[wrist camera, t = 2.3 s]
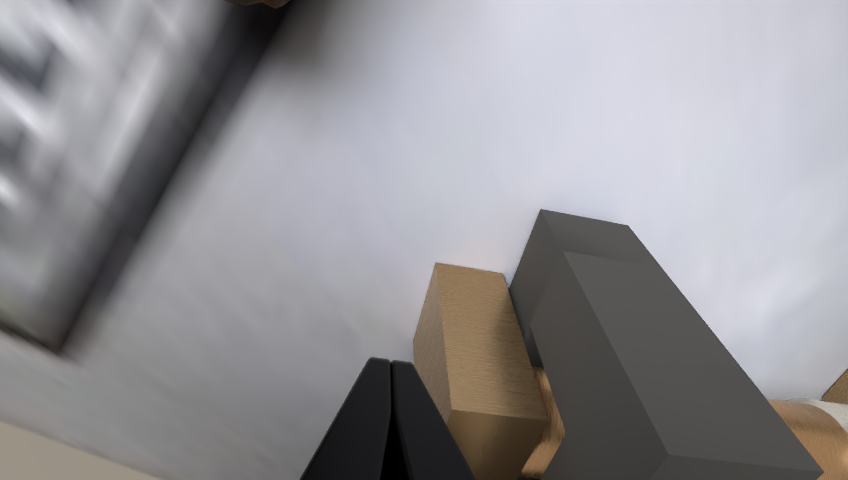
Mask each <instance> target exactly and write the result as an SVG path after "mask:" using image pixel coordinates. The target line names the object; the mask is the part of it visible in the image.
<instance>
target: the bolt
mask: <svg viewBox="0 0 848 480" xmlns="http://www.w3.org/2000/svg"><path fill="white" fill-rule="evenodd" d="M225 1H228V2H232V3H236V4H240V5H244V6H248V5H252V4H256V3H260V2H262V3H264V4H266V5H268V6H270V7H272V8H275V9H276V8H278V7H281V6H283V5H284V4H286V3H287V2H288V1H290V0H225Z"/></svg>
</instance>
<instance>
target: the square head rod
mask: <svg viewBox="0 0 848 480" xmlns="http://www.w3.org/2000/svg"><path fill="white" fill-rule="evenodd" d="M413 344H414V367H415V368H416V370H417V372H418V374H419V376H420V378H421V379H422V381H423V383H424V385H425V387H426V389H427V390H428V392H429V394H430V396H431V398H432V400H433V401H434V403H435V405H436V407H437V409H438V411H439V412H440V414H441V416H442V418H443V420H444V422H445V423H446V425H447V427H448V429H449V431H450V433H451V434H452V436H453V438H454V440H455V442H456V444H457V445H458V447H459V449H460V451H461V453H462V454H463V456H464V458H465V460H466V462H467V464H468V465H469V467H470V469H471V471H472V473H473V475H474V476H475V478H476V480H517V479H518V477H524V478H534V479H541V477H542V475H543V474H544V472H545V470H546V468H547V467H548V465H549V463H550V461H551V460H552V458H553V456H554V454H555V453H556V451H557V449H558V447H559V446H560V444H561V442H562V440H563V439H564V437H565V435H566V432H565V429H564V426H563V423H562V420H561V417H560V414H559V411H558V408H557V405H556V402H555V399H554V396H553V393H552V390H551V387H550V384H549V381H548V378H547V375H546V372H545V369H544V368H541V367H534V366H531V363H530V360H529V357H528V353H527V350H526V347H525V344H524V340H523V337H522V334H521V331H520V327H519V324H518V321H517V318H516V314H515V311H514V308H513V305H512V301H511V298H510V295H509V292H508V288H507V285H506V282H505V279H504V275H503V274H502V273H496V272H490V271H484V270H478V269H472V268H466V267H460V266H453V265H447V264H441V263H435V267H434V270H433V274H432V277H431V281H430V284H429V288H428V291H427V295H426V298H425V302H424V305H423V309H422V312H421V316H420V319H419V323H418V326H417V330H416V333H415V337H414V340H413ZM822 398H823V399H824V400H825V401H826V402H825V401H817V400H810V399H792V400H789V401H782V400H775V399H768V398H766V399H767V401H768V402H769V403H770V404H771V406H772V407H773V408H774V409H775V411H776V412H777V413H778V414H779V416H780V417H781V418H782V419H783V421H784V422H785V423H786V424H787V426H788V427H789V428H790V429H791V431H792V432H793V433H794V434H795V436H796V437H797V438H798V439H799V441H800V442H801V443H802V444H803V446H804V447H805V448H806V449H807V451H808V452H809V453H810V455H811V456H812V457H813V458H814V460H815V461H816V462H817V463H818V465H819V466H820V467H821V468H822V470H823V471H824V473H823V474H822V475H821V476H820V477H819V478H818V479H817V480H848V370H847V371H846V372H845V373H844V374H843V375H842V376H841V378H840V379H839V380H838V381H837V382H836V383H835V384H834V385H833V386H832V387H831V388H830V389H829V390H828V392H827V393H826V394H825V395H824V396H823V397H822Z"/></svg>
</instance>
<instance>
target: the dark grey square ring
mask: <svg viewBox="0 0 848 480" xmlns="http://www.w3.org/2000/svg"><path fill="white" fill-rule="evenodd" d="M508 292H509V295H510V298H511V301H512V305H513V308H514V311H515V314H516V318H517V321H518V324H519V327H520V331H521V334H522V337H523V340H524V344H525V347H526V350H527V353H528V357H529V360H530V363H531V366H534V367H541V368H544V369H545V372H546V375H547V378H548V381H549V384H550V387H551V390H552V393H553V396H554V399H555V402H556V405H557V408H558V411H559V414H560V417H561V420H562V423H563V426H564V429H565V432H566V435H565V437H564V439H563V440H562V442H561V444H560V446H559V447H558V449H557V451H556V453H555V454H554V456H553V458H552V460H551V461H550V463H549V465H548V467H547V468H546V470H545V472H544V474H543V475H542V477H541V479H534V478H524V477H518V479H517V480H817V479H818V478H819V477H820V476H821V475H822V474H823V473H824V471H823V470H822V468H821V467H820V466H819V465H818V463H817V462H816V461H815V460H814V458H813V457H812V456H811V455H810V453H809V452H808V451H807V449H806V448H805V447H804V446H803V444H802V443H801V442H800V441H799V439H798V438H797V437H796V436H795V434H794V433H793V432H792V431H791V429H790V428H789V427H788V426H787V424H786V423H785V422H784V421H783V419H782V418H781V417H780V416H779V414H778V413H777V412H776V411H775V409H774V408H773V407H772V406H771V404H770V403H769V402H768V401H767V399H766V398H765V397H764V396H763V394H762V393H761V392H760V391H759V389H758V388H757V387H756V385H755V384H754V383H753V382H752V380H751V379H750V378H749V377H748V375H747V374H746V373H745V372H744V370H743V369H742V368H741V367H740V365H739V364H738V363H737V362H736V360H735V359H734V358H733V357H732V355H731V354H730V353H729V352H728V350H727V349H726V348H725V347H724V345H723V344H722V343H721V342H720V340H719V339H718V338H717V337H716V335H715V334H714V333H713V332H712V330H711V329H710V328H709V327H708V325H707V324H706V323H705V321H704V320H703V319H702V318H701V316H700V315H699V314H698V313H697V311H696V310H695V309H694V308H693V306H692V305H691V304H690V303H689V301H688V300H687V299H686V298H685V296H684V295H683V294H682V293H681V291H680V290H679V289H678V288H677V286H676V285H675V284H674V283H673V281H672V280H671V279H670V278H669V276H668V275H667V274H666V273H665V271H664V270H663V269H662V268H661V266H660V265H659V264H658V263H657V261H656V260H655V259H654V257H653V256H652V255H651V254H650V252H649V251H648V250H647V249H646V247H645V246H644V245H643V244H642V242H641V241H640V240H639V239H638V237H637V236H636V235H635V234H634V232H633V231H632V230H631V229H630V227H629V226H628V225H623V224H617V223H612V222H607V221H601V220H596V219H591V218H585V217H580V216H575V215H570V214H564V213H559V212H554V211H548V210H543V209H541V210H540V212H539V215H538V217H537V220H536V222H535V225H534V227H533V230H532V233H531V235H530V238H529V240H528V243H527V245H526V248H525V250H524V253H523V256H522V258H521V261H520V263H519V266H518V268H517V271H516V273H515V276H514V279H513V281H512V284H511V286H510V289H509V291H508Z"/></svg>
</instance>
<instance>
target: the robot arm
mask: <svg viewBox="0 0 848 480" xmlns="http://www.w3.org/2000/svg"><path fill="white" fill-rule="evenodd" d="M300 480H476V478H475V476H474V475H473V473H472V471H471V469H470V467H469V465H468V464H467V462H466V460H465V458H464V456H463V454H462V453H461V451H460V449H459V447H458V445H457V444H456V442H455V440H454V438H453V436H452V434H451V433H450V431H449V429H448V427H447V425H446V423H445V422H444V420H443V418H442V416H441V414H440V412H439V411H438V409H437V407H436V405H435V403H434V401H433V400H432V398H431V396H430V394H429V392H428V390H427V389H426V387H425V385H424V383H423V381H422V379H421V378H420V376H419V374H418V372H417V370H416V368H415V367H414V365H413V364H412V363H411V362H406V361H398V360H393V361H392V362H390V360H388V359H383V358H375V357H371V358H369V359H368V361H367V363H366V364H365V366H364V368H363V370H362V371H361V373H360V375H359V377H358V378H357V380H356V382H355V384H354V385H353V387H352V389H351V391H350V392H349V394H348V396H347V398H346V399H345V401H344V403H343V405H342V406H341V408H340V410H339V412H338V413H337V415H336V417H335V419H334V420H333V422H332V424H331V426H330V427H329V429H328V431H327V433H326V434H325V436H324V438H323V440H322V441H321V443H320V445H319V447H318V448H317V450H316V452H315V454H314V455H313V457H312V459H311V461H310V462H309V464H308V466H307V468H306V469H305V471H304V473H303V475H302V476H301V478H300Z"/></svg>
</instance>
